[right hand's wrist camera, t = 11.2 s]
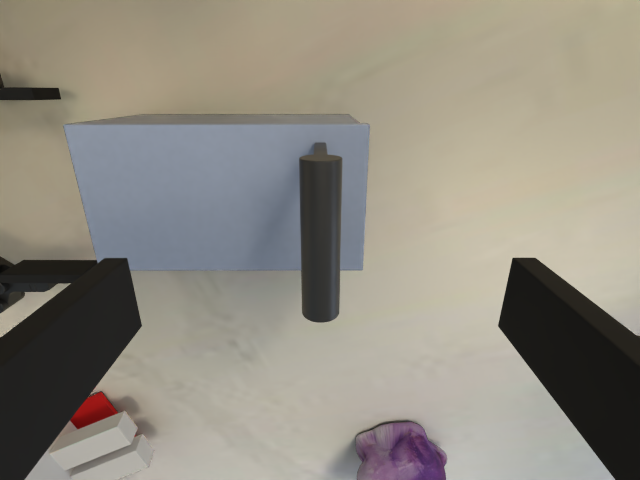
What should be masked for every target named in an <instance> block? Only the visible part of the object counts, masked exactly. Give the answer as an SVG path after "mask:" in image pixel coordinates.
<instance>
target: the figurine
mask: <svg viewBox="0 0 640 480" xmlns="http://www.w3.org/2000/svg"><path fill="white" fill-rule="evenodd" d="M356 451H357V454H358V456H359V458H360V459H361V461H362V462H363V463H362V464H361V465H360V468H359V470H358V473H357V480H446V475H445V470H444V466H445V464H446V463H447V455H446V453H445V452H444V451H443V450H442V449H441V448H439V447H438V446H436V445H435V444H433V443H431V442H430V441H428V440H427V436H426V433H425V431H424V429H423V428H422V427H421V426H420V425H418V424H416V423H414V422H400V423H389V424H384V425H383V424H382V425H381V426H378V427H376V428H374V429H373V430H370V431H366V432H363V433H361V434H359V435H357V437H356Z"/></svg>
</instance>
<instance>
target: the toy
mask: <svg viewBox="0 0 640 480" xmlns="http://www.w3.org/2000/svg"><path fill="white" fill-rule="evenodd" d="M137 429H138V427H137V426H136V425H135V423H134V422H133V421H132V419H131V418H130V417H129V415H128V414H127V413H126V411H123V412H120V413H118V412H117V411H116V410H115V408H114V407H113V406H112V405H111V403H110V402H109V401H108V400H107V398H106V397H105V396H104V395H103V393H102V392H100V393H97V394H95V395H93V396H91V397H88V398H87V399H86V400H85V401H84V402H83V404H82V405H81V406H80V408H79V409H78V410H77V412H76V413H75V414H74V416H73V417H72V418H71V420H70V421H69V422H68V423H67V425H66V426H65V427H64V429H63V430H62V431H61V433H60V434H59V435H58V437H57V438H56V439H55V441H54V442H53V443H52V444H51V446H50V447H49V448H48V450H47V451H46V452H45V454H44V455H43V456H42V458H41V459H40V460H39V461H38V463H37V464H36V465H35V467H34V468H33V469H32V471H31V472H30V473H29V475H28V476H27V477H26V479H25V480H118V479H120V478H123V477H125V476H128V475H130V474H133V473H135V472H138V471H140V470H143V469H145V468H148V467H149V465H150V462H151V459H152V456H153V453H154V449H153V447H152V446H151V445H150V443H149V442H148V441H147V439H146V438H145V437H144V435H143V434H141V435H138V436H136V431H137Z"/></svg>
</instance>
